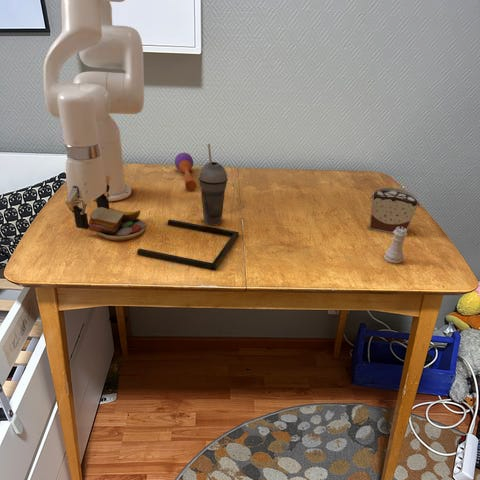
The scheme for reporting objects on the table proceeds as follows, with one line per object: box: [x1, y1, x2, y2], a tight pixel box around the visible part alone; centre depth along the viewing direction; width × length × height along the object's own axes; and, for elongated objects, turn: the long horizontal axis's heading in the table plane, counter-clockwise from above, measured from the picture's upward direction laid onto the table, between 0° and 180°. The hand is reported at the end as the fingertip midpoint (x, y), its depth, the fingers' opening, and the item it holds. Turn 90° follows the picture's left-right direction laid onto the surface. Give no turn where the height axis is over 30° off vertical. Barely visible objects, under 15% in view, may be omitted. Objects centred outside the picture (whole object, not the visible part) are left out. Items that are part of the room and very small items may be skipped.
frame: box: [136, 218, 240, 271], centre depth 113 cm, size 19×18×1 cm
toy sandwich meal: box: [88, 207, 147, 241], centre depth 116 cm, size 12×14×5 cm
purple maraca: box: [174, 152, 197, 192], centre depth 146 cm, size 6×6×20 cm
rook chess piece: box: [383, 227, 408, 264], centre depth 110 cm, size 4×4×8 cm
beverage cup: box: [198, 143, 228, 226], centre depth 118 cm, size 7×7×20 cm
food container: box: [368, 187, 421, 234], centre depth 123 cm, size 12×6×10 cm, turn 71°
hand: (93, 220), depth 117 cm, fingers open, 9 cm apart
